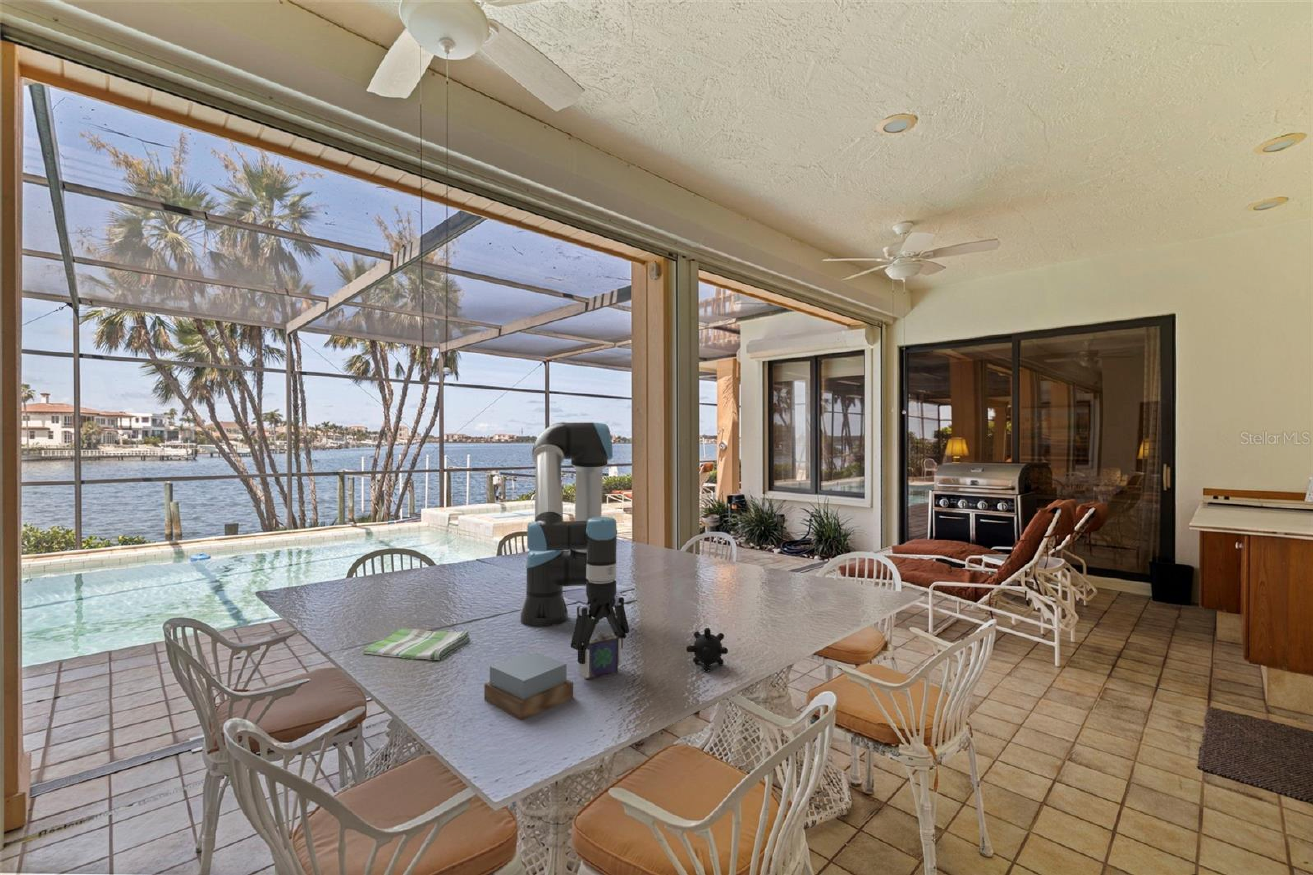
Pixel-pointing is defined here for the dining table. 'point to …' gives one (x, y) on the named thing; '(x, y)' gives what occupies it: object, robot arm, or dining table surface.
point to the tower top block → (527, 674)
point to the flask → (603, 655)
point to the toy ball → (707, 648)
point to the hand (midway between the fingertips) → (600, 669)
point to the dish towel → (420, 644)
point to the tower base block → (528, 699)
